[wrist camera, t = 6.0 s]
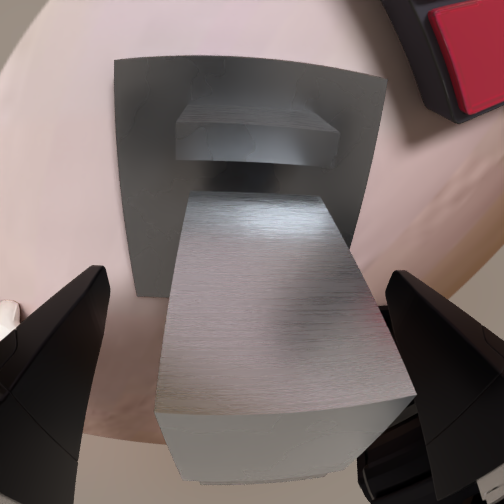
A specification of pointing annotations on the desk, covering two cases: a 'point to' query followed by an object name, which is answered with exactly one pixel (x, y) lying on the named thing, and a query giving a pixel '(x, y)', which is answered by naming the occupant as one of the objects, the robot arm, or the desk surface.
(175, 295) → the column
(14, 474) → the robot arm
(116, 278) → the desk surface
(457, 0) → the button control pad
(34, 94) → the desk surface
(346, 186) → the stand base
